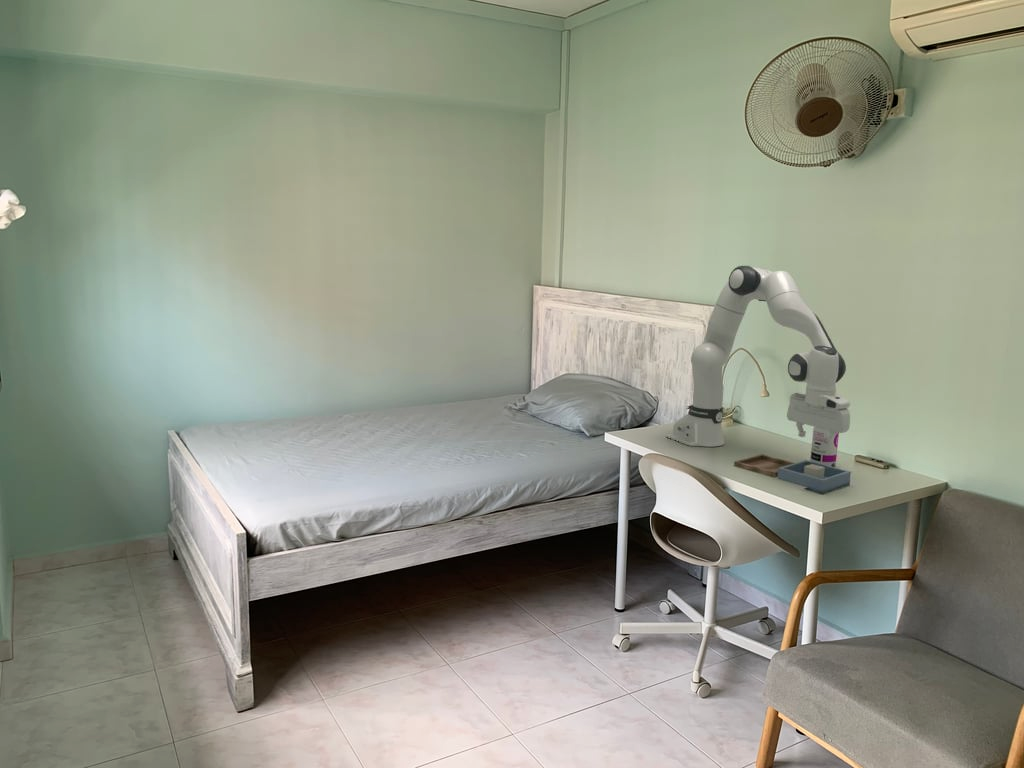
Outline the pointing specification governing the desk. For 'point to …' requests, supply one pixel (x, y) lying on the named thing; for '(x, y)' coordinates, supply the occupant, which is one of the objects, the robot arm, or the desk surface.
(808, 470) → the sandstone block
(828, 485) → the slate-blue bin
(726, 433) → the desk surface
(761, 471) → the walnut tray
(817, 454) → the supplement can
